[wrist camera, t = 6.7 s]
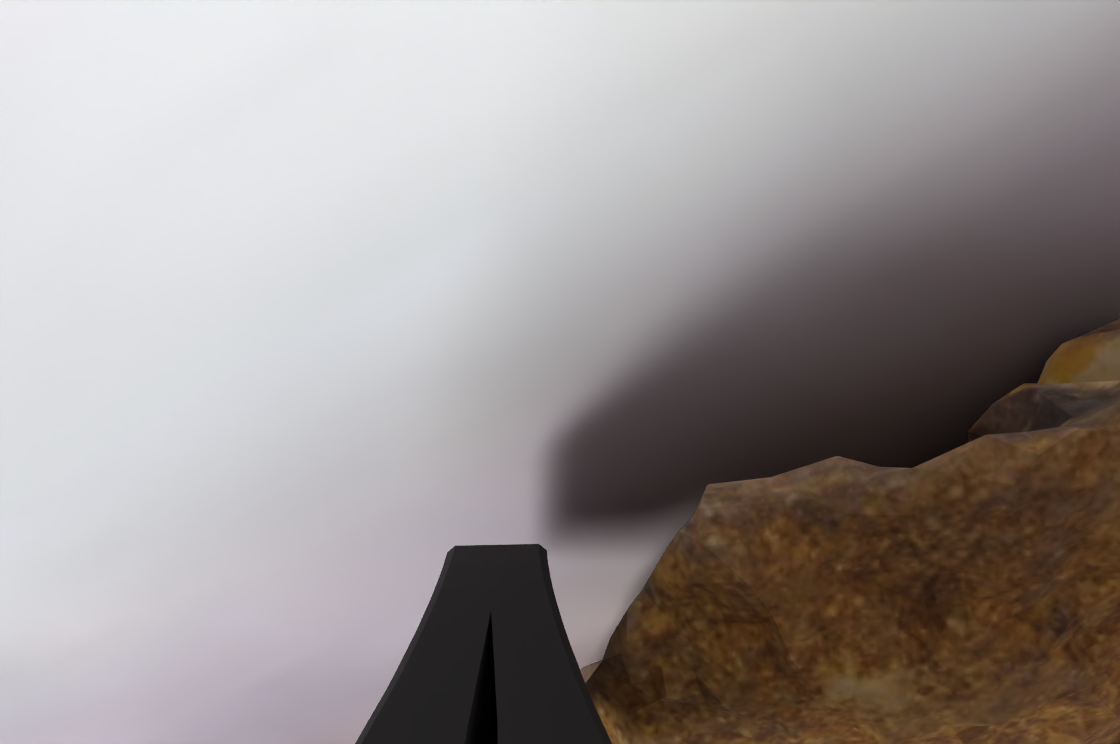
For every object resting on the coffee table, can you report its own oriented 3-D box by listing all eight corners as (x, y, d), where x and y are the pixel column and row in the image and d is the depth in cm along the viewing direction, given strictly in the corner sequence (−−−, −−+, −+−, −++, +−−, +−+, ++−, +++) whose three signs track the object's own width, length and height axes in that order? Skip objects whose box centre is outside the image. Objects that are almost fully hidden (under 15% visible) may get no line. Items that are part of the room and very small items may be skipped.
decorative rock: (754, 71, 9) (471, 757, 17) (850, 196, 6) (441, 981, 14) (1530, 324, 11) (940, 850, 19) (1969, 542, 7) (1018, 1073, 15)
